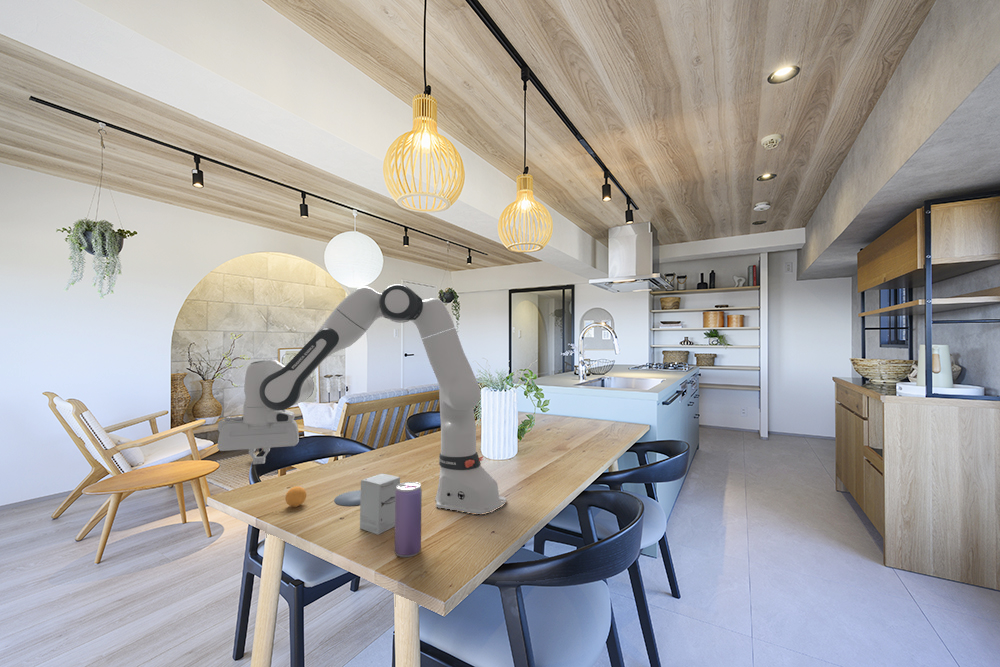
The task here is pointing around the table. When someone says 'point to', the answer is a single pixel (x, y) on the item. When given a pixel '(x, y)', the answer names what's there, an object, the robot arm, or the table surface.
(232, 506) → the table surface
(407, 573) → the table surface
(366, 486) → the supplement box
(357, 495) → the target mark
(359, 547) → the table surface
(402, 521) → the beverage can
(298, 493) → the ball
